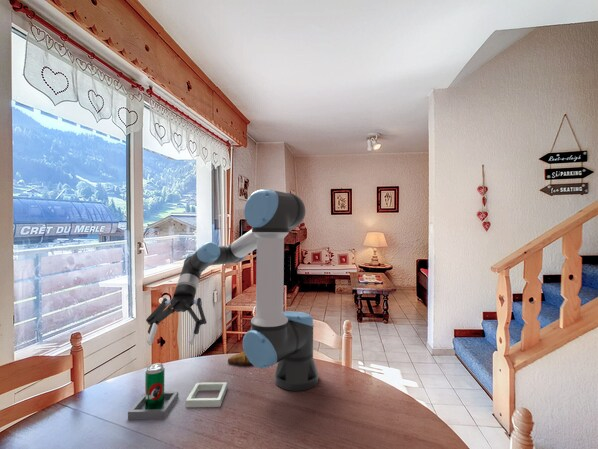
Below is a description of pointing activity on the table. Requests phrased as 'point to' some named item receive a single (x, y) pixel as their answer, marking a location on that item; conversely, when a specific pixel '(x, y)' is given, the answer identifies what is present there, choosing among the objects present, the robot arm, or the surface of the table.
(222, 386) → the socket lower
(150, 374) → the soda can
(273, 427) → the table surface
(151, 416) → the socket upper
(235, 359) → the croissant
